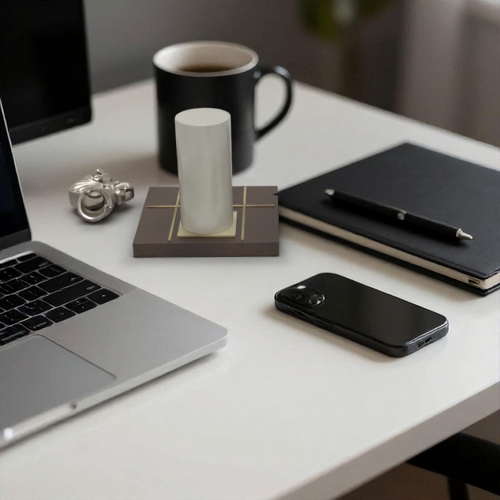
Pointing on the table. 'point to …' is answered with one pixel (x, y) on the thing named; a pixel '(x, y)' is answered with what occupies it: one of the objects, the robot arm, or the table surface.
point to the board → (217, 244)
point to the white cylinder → (204, 170)
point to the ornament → (98, 195)
